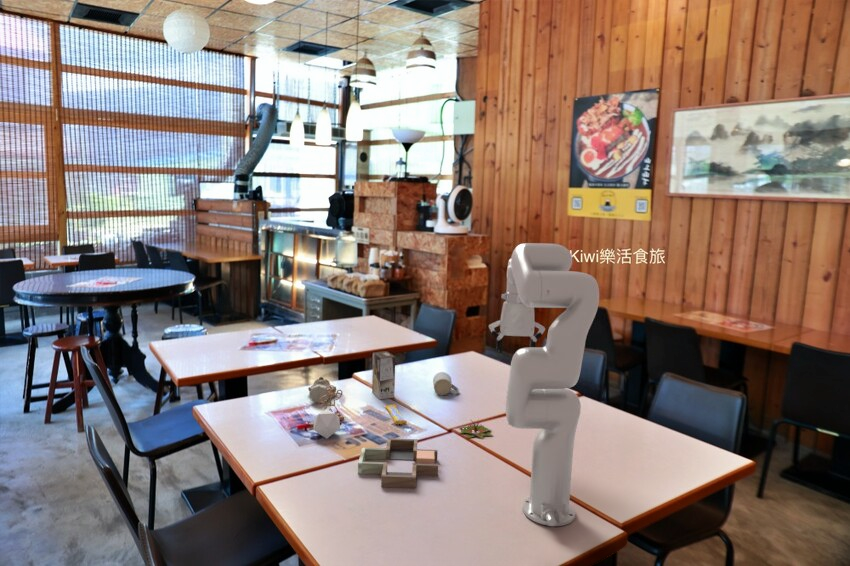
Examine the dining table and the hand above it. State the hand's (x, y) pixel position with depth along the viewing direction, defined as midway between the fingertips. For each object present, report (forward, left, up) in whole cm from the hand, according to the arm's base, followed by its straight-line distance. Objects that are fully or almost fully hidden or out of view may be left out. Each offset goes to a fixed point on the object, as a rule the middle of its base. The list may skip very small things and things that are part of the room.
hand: (515, 352), depth 178 cm
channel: (-19, +35, -29) cm, 49 cm away
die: (+1, +59, -29) cm, 65 cm away
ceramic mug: (+45, +19, -29) cm, 57 cm away
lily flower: (+7, +11, -30) cm, 32 cm away
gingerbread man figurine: (+14, +60, -29) cm, 68 cm away
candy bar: (+19, +38, -30) cm, 51 cm away
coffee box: (+40, +44, -29) cm, 66 cm away
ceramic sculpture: (+34, +66, -29) cm, 80 cm away
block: (-19, +27, -29) cm, 44 cm away
